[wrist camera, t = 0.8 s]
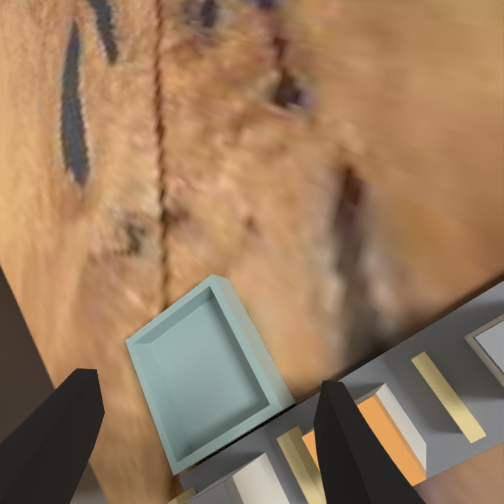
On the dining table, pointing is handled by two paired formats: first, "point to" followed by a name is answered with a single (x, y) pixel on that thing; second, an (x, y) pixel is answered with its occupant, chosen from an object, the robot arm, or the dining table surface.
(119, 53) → the dining table surface
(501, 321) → the block
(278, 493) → the block
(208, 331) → the tray
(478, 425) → the block
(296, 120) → the dining table surface
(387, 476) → the robot arm
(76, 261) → the dining table surface
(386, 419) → the block
